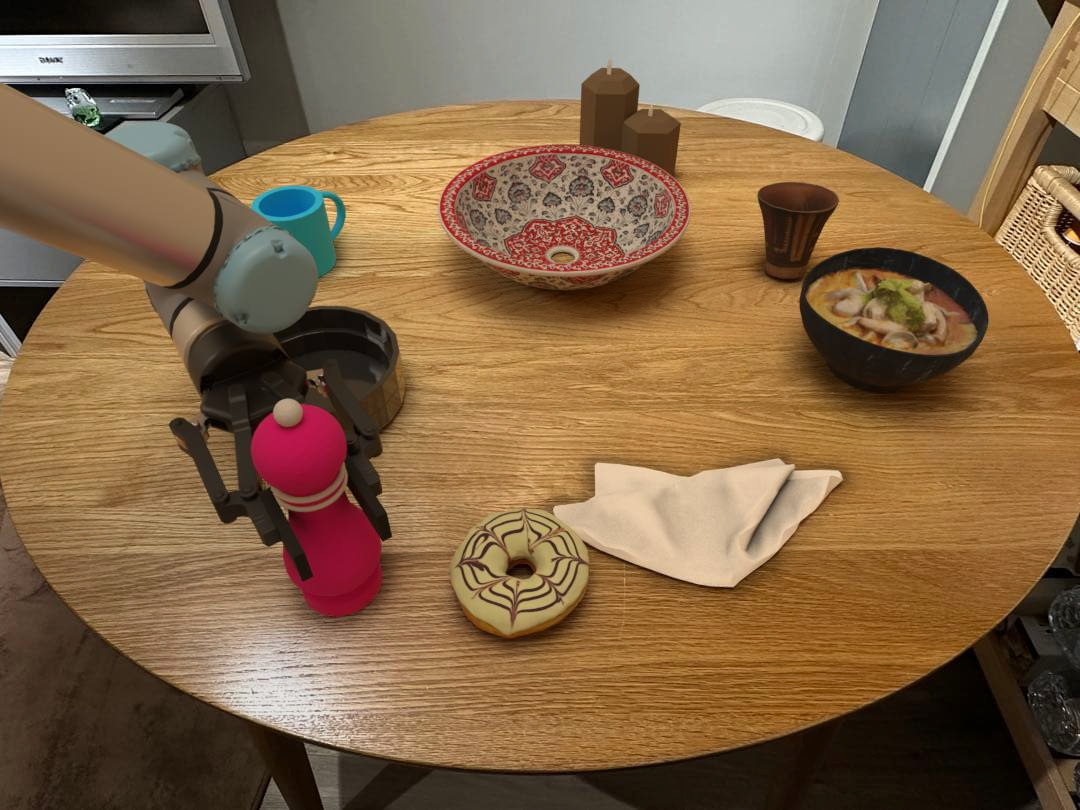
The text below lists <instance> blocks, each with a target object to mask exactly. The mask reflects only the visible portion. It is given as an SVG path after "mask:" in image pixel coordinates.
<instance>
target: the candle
mask: <svg viewBox="0 0 1080 810" xmlns="http://www.w3.org/2000/svg"><path fill="white" fill-rule="evenodd" d="M612 65H613V59H612V57H610V58H608V61H607V66H606V67H601V68H599V69H597V70H596V71H594V72H592V73H591V74H590V75H589V76H588V77H587V78H585V80H584V81H583V82H581V85H580V86H581V87H580V88H581V89H580V113H579V114H580V117H579V143H578V145H582V146H592V147H600V148H605V149H611V150H615V151H619V152H623V153H626V154H630V155H633V156H636V157H638V158H641V159H643V160H646V161H648V162H650V163H652V164H654V165H656V166H658V167H659V168H661V169H663V170H664V171H666V172H667V173H668V174H670V175H671V176H672V177H673V178H675V173H676V164H677V156H678V149H679V140H680V133H681V125H682V123H681V122H680V120H678V119H676V118H675V117H674V116H672V115H670V114H669V113H667V112H666V111H664V110H663V109H661V108H654V105H650V106H649V108H641V109H639V110H638V108H639V98H640V97H639V96H640V88H641V87H640V83H639V82H638V81H637V79H635V78H634V76H633V75H631V74H630V73H628V72H627V71H625V70H624V69H623V68H621V67H612Z"/></svg>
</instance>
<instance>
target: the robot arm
mask: <svg viewBox="0 0 1080 810" xmlns="http://www.w3.org/2000/svg"><path fill="white" fill-rule="evenodd" d="M0 229H2V230H5V231H7V232H10V233H13V234H16V235H18V236H20V237H24V238H27V239H30V240H32V241H35V242H38V243H41V244H44V245H46V246H49V247H52V248H54V249H57V250H60V251H63V252H65V253H68V254H71V255H74V256H75V257H76V256H77V257H80V258H82V259H84V260H87V261H91V262H93V263H96V264H99V265H101V266H104V267H107V268H110V269H113V270H116V271H118V272H121V273H123V274H126V275H129V276H132V277H135V278H137V279H140V280H142V281H143V284H144V291H145V293H146V296H147V297H148V299H149V303H150V305H151V307H152V309H153V310H154V311H155V313H156V314H157V315H158V317H159V319H160V320H161V323H162V325H163V326H164V328H165V330H166V331H167V333H168V335H169V336H170V338H171V341H172V344H173V347H174V348H175V351H176V352H177V354H178V356H179V358H180V360H181V362H182V364H183V366H184V368H185V370H186V372H187V373H188V375H189V378H190V380H191V383H193V386H194V388H195V389H196V392H197V393H198V396H199V397H200V399H201V402H200V405H199V411H200V412H198V413H197V414H196V415H194V416H192V417H191V418H190V419H188V420H187V419H186V418H185V417H176V418H173V419H171V420H170V421H169V423H168V427H169V430H170V431H171V434H172V435H173V437H174V440H175V442H176V444H177V446H178V448H179V449H180V451H182V452H183V453H185V454H186V455H187V456H189V457H190V458H191V459H192V461H193V463H194V465H195V467H196V470H197V472H198V474H199V477H200V479H201V481H202V484H203V487H204V488H205V490H206V493H207V495H208V498H209V500H210V502H211V504H212V506H213V508H214V510H215V512H216V515H217V517H218V518H219V521H220V522H221V524H224V525H229V524H232V523H234V522H235V521H236V520H237V519H238V518H242V517H245V518H248V519H249V520H250V522H251V524H253V527H254V529H255V531H256V533H257V535H258V537H259V540H260V541H261V543H262V544H263V545H264V546H265V547H267V548H270V547H273V546H274V545H276V544H279V543H282V546H283V545H284V547H285V549H286V551H287V553H288V554H289V556H290V558H291V560H292V562H293V564H294V566H295V568H296V570H297V572H298V574H299V576H300V578H301V580H302V582H304V581H306V580H308V579H310V578H312V577H314V576H313V574H312V571H311V568H310V565H309V563H308V560H307V557H306V555H305V552H304V550H303V548H302V547H301V545H300V543H299V541H298V539H297V537H296V535H295V534H294V532H293V530H292V528H291V526H290V524H289V522H288V518H287V517H286V515H285V513H284V511H283V510H282V508H281V507H282V506H281V505H280V504H279V503H278V501H277V500H276V499H275V496H274V493H273V490H272V489H271V486H270V487H269V486H268V487H266V488H264V480H263V479H262V478H261V477H260V476H259V474H258V472H257V471H256V469H255V467H254V464H253V460H252V455H251V444H252V438H253V435H254V433H255V431H256V429H257V428H258V426H259V424H260V423H261V422H262V421H263V420H264V419H265V418H266V417H267V416H269V415H270V414H271V413H273V410H274V407H275V405H276V404H277V403H278V402H279V401H281V400H283V399H293V400H295V401H297V402H298V403H299V404H304V405H310V404H309V403H308V402H307V401H306V400H305V398H306V395H307V393H308V390H309V387H313V388H316V389H317V391H318V392H319V393H321V394H323V397H329V398H330V401H331V404H332V406H333V407H334V409H335V410H336V411H337V413H338V414H339V416H340V417H341V418H342V420H343V421H344V423H345V424H346V425H347V427H348V428H349V430H350V431H351V432H352V434H353V435H354V436H351V435H350V434H348V433H347V432H346V431H344V430H343V429H342V430H343V432H344V434H345V437H346V444H347V452H346V458H345V460H344V463H345V468H346V471H347V474H348V481H347V485H346V488H348V490H349V491H350V493H351V495H352V496H353V498H354V499H355V501H356V502H357V504H358V507H359V508H360V509H362V510H363V512H364V513H365V515H366V517H367V518H368V520H369V521H370V523H371V524H372V526H373V528H374V529H375V531H376V532H377V534H378V536H379V537H380V540H381V543H382V542H385V541H387V540H389V539H391V538H393V533H392V529H391V524H390V520H389V516H388V512H387V511H386V509H385V507H384V506H383V504H382V503H381V501H380V500H379V498H378V496H380V495H383V486H382V480H381V478H380V473H379V472H378V471H377V470H376V468H375V466H374V465H373V464H372V462H371V461H370V460H371V459H374V458H379V457H380V456H382V454H383V453H384V449H383V445H382V441H381V435H380V430H378V427H377V425H376V424H375V423H374V422H373V420H372V419H371V418H370V416H369V415H368V414H367V412H366V411H365V410H364V408H363V407H362V406H361V404H360V403H359V402H358V400H357V399H356V398H355V396H354V395H353V394H352V392H351V391H350V390H349V388H348V387H347V386H346V384H345V383H344V382H343V380H342V378H341V374H340V370H339V366H338V362H337V361H336V360H335V359H328V360H326V361H324V363H323V369H318V370H312V371H305V369H304V368H302V367H301V366H298V365H296V364H294V363H292V361H291V360H290V358H289V357H288V355H287V354H286V352H285V351H284V349H283V348H282V346H281V345H280V343H279V342H278V340H277V339H276V337H275V336H274V335H273V333H275V332H279V331H281V330H284V329H286V328H288V327H290V326H291V325H293V324H294V323H295V322H297V321H298V320H299V319H300V318H301V317H302V316H303V315H304V314H305V312H306V311H307V309H308V307H311V305H312V303H313V300H314V298H315V297H316V294H317V291H318V286H319V277H318V271H317V266H316V263H315V261H314V259H313V257H312V255H311V254H310V252H309V251H308V250H307V249H306V248H305V247H304V246H303V245H302V244H300V243H299V242H298V241H297V240H296V239H295V238H294V237H293V236H292V234H291V233H290V232H288V231H287V230H285V229H281V228H280V227H279V226H276V225H275V224H273V223H272V222H270V221H269V220H267V219H266V218H264V217H263V216H261V215H260V214H258V213H257V212H255V211H254V210H252V209H251V207H250V206H248V205H246V204H245V203H243V202H242V201H241V200H239V198H237V197H236V196H235V195H233V194H232V193H231V192H229V191H228V190H226V189H225V188H223V187H222V186H220V185H219V184H218V183H216V182H215V181H214V180H212V179H211V178H209V177H207V176H206V174H205V173H204V170H203V167H202V157H201V155H199V154H198V152H197V150H196V147H195V145H194V143H193V140H192V139H191V136H190V134H189V133H188V132H187V131H186V130H185V129H184V128H182V127H181V126H178V125H176V124H173V123H171V122H170V123H169V122H165V121H164V122H163V121H147V122H146V121H145V122H137V123H134V124H128V125H125V126H122V127H119V128H116V129H114V130H111V131H109V132H107V133H106V134H102V133H100V132H98V131H96V130H95V129H94V128H91V127H88V126H87V125H85V124H83V123H81V122H79V121H77V120H76V119H74V118H72V117H70V116H67V115H66V114H63V113H62V112H61V111H58V110H56V109H54V108H52V107H50V106H48V105H47V104H45V103H43V102H40V101H39V100H37V99H35V98H33V97H31V96H29V95H27V94H26V93H23V92H21V91H19V90H18V89H16V88H14V87H12V86H9V85H8V84H5V83H3V82H2V81H0ZM210 428H212V429H214V430H218V431H222V432H225V433H229V434H231V435H233V437H234V438H233V439H234V447H235V460H236V461H235V462H236V471H237V484H238V490H232V491H228V488H227V487H226V485H225V482H224V480H223V478H222V476H221V473H220V471H219V469H218V467H217V465H216V463H215V460H214V458H213V456H212V453H211V451H210V450H209V447H208V445H209V439H210V438H211V437H210V433H209V429H210Z"/></svg>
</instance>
